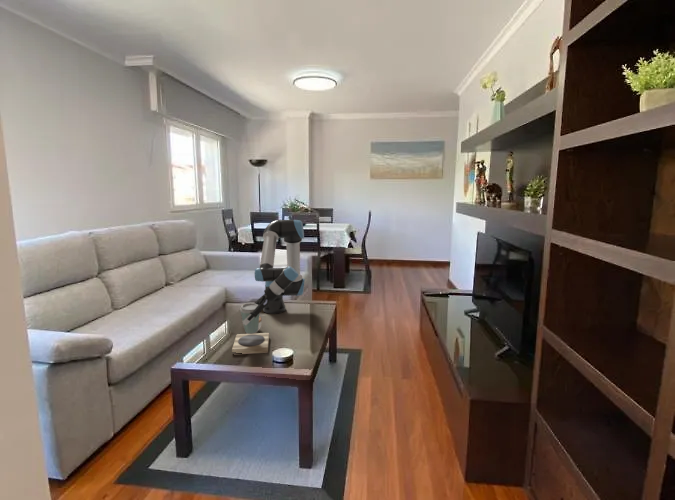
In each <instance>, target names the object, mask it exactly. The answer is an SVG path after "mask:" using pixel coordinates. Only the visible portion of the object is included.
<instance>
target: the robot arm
mask: <svg viewBox="0 0 675 500" xmlns="http://www.w3.org/2000/svg"><path fill="white" fill-rule="evenodd" d="M304 238H305V230H304V224H303V221H302V220H300V219H299V220H298V219H276V220H272V222H270V223H269V224H268V225H266V227H265V229H264V231H263V233H262V239H263V243H262V250H261V257H260V263H259V267H257V268H255V269H254V279H255V282H260V283H261V282H262V283H263V282H265V283H264V284H265V285H264V291H263V293H264V294H262V295H261V297H258V299H257V300H256V301H254V303H255V304H258V306H257V307H256V308H255V310H254V311H253V312H252V313H251V312H250V315H249V316H248V317H247V318H246V319H245V320H244V321H243V320H242V321H241V323H242V325H243V324H244V325H247V324H248V323H249V322H250V321H251V320H252V319H253V318H254V317H255V318H256V316H257V315H258V314H259V313H261V312H262V311H263V312H264V313H266V314H270V315H273V314H274V315H275V314H281V313H284V312H285V311H286V305H285V301H284V298H283V297H284V296H285V297H286V296H287V297H290V296H293V297H294V296H295V297H298V296H302V295H303V294H304V290H305V289H304V288H305V278H303V275H302V274H301V251H300V250H301V248H300V246H301V245H300V244H301V242H302V241H303V239H304ZM279 239H283V241H284V243H285V244H286V247H285V249H286V266H285V267H274V263H275V257H276V247H277V241H279ZM259 315H260V314H259ZM244 325H243V326H244Z"/></svg>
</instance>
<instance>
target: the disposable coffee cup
mask: <svg viewBox="0 0 675 500" xmlns="http://www.w3.org/2000/svg"><path fill="white" fill-rule="evenodd" d="M257 306H258V304H255V302H246V303H243V304H241V306H240V308H239V312H240V314H241V319H242V320H241V321H242V322H243V321H244V320H245V319H246V318H247V317H248V316H249V315H250V312H251V313H252V312H253V311H254V310H255V308H256V307H257ZM260 313H261V312H260ZM260 313H259V314H258V315H257V316H256V318H255V317H254V318H253V319H252V320H251V321H250V322H249V323H248V324H247V325H244V324H243V323H242V325H243V329H244V331H245V334H254V333H258V332H257V330H258V324H259V317H260ZM258 331H259V330H258Z"/></svg>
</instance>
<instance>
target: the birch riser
mask: <svg viewBox="0 0 675 500" xmlns="http://www.w3.org/2000/svg"><path fill="white" fill-rule="evenodd" d="M269 344H270V332H260V333H259V332H256V333H254V334H247V333H240V334H239V333H237V334H236V335H235V338H234V343H233V345H232V348H231V352H236V353H242V354H241V355H246V354H263V353H265V354H266V353H267V354H268V353H269Z"/></svg>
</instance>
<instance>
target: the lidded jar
mask: <svg viewBox="0 0 675 500" xmlns="http://www.w3.org/2000/svg"><path fill="white" fill-rule="evenodd" d="M261 327H262V317H261V316H259V324H258V330H257V332H256V333H259V330H260V329H261Z"/></svg>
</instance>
